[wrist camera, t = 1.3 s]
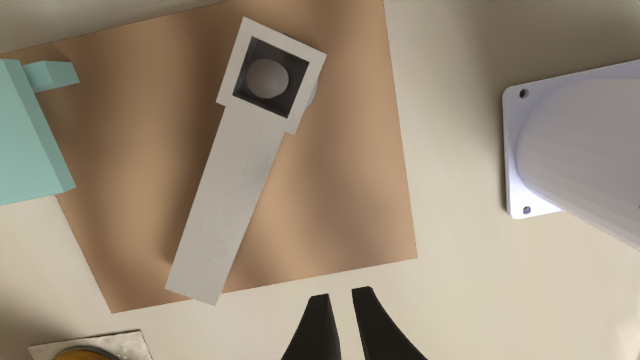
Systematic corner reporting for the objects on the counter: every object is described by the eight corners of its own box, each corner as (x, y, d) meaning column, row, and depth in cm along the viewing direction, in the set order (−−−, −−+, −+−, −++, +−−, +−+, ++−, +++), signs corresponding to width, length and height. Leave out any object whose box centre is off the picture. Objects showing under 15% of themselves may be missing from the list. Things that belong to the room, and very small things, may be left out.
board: (374, -28, 17) (393, -65, 12) (412, 248, 21) (436, 291, 17) (10, 58, 18) (-89, 51, 13) (122, 301, 22) (75, 354, 18)
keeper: (87, 61, 18) (12, 56, 13) (128, 165, 20) (74, 190, 15) (-13, 84, 18) (-116, 86, 14) (36, 185, 20) (-42, 214, 16)
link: (250, 22, 16) (243, 16, 14) (326, 56, 16) (327, 54, 15) (168, 269, 20) (155, 285, 18) (230, 291, 20) (223, 308, 19)
